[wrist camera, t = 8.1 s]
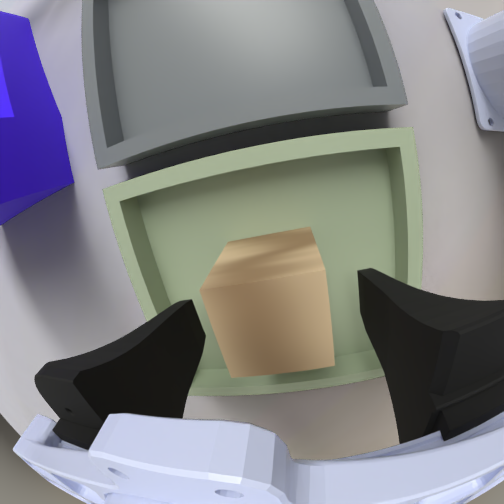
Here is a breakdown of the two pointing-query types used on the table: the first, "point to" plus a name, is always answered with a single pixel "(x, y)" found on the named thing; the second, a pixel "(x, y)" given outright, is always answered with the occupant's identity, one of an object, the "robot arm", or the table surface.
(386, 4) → the table surface
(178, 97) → the charcoal bin
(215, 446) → the robot arm
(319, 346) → the oak block
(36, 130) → the bracket
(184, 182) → the olive bin
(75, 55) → the table surface
